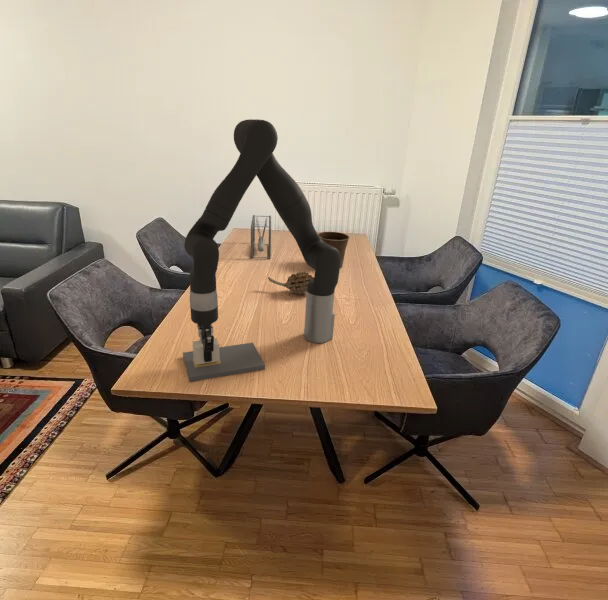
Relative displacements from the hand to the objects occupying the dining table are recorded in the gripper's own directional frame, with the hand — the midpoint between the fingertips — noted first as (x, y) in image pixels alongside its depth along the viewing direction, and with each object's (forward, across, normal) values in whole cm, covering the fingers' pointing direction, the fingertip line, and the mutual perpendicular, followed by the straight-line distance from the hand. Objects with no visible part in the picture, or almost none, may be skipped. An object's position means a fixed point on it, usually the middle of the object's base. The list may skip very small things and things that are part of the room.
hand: (206, 356), depth 121 cm
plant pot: (+3, +76, -77) cm, 108 cm away
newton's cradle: (+3, +108, -49) cm, 119 cm away
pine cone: (+3, +47, -44) cm, 64 cm away
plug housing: (+1, 0, 0) cm, 1 cm away
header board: (+3, 0, -5) cm, 6 cm away
